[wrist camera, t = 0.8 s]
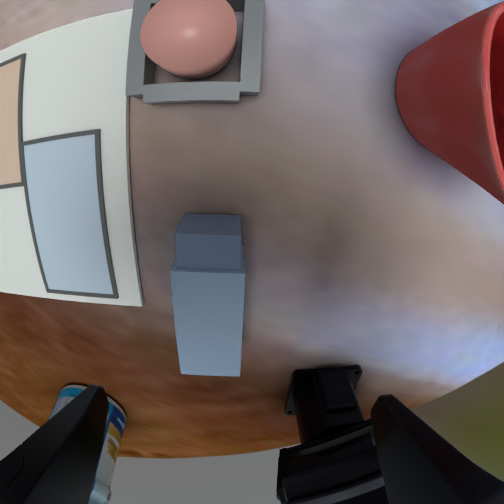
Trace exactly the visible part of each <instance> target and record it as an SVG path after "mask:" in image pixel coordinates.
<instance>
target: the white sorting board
mask: <svg viewBox="0 0 504 504" xmlns="http://www.w3.org/2000/svg"><path fill="white" fill-rule="evenodd" d="M132 12H133V9H128V10H122V11H117V12H113V13H108V14H104V15H99V16H95V17H91V18H87V19H84V20H80V21H77V22H73V23H70V24H67V25H64V26H61V27H58V28H55V29H52V30H49V31H46V32H43V33H41V34H38V35H36V36H33V37H30V38H28V39H26V40H23V41H21V42H19V43H16V44H14V45H12V46H10V47H8V48H5V49H3V50H1V51H0V292H6V293H13V294H20V295H27V296H35V297H43V298H51V299H60V300H69V301H79V302H90V303H101V304H113V305H126V306H140V307H142V306H143V303H144V301H143V295H142V289H141V282H140V275H139V268H138V261H137V253H136V244H135V235H134V225H133V214H132V201H131V185H130V164H129V96H125V91H126V72H127V57H128V46H129V36H130V27H131V19H132Z"/></svg>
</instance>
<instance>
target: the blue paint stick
mask: <svg viewBox="0 0 504 504" xmlns="http://www.w3.org/2000/svg"><path fill="white" fill-rule="evenodd" d="M241 237H242V234H241V215H229V214H197V213H185V214H184V216H183V218H182V220H181V222H180V224H179V226H178V228H177V230H176V232H175V255H176V257H175V259H174V262H173V264H172V267H171V269H170V280H171V292H172V303H173V313H174V322H175V331H176V339H177V347H178V355H179V362H180V369H181V374H192V375H210V376H240V366H241V348H242V330H243V312H244V294H245V277H246V271H245V255H244V244H241Z"/></svg>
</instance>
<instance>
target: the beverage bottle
mask: <svg viewBox="0 0 504 504" xmlns="http://www.w3.org/2000/svg"><path fill="white" fill-rule="evenodd" d="M85 388H86V386H82V385H68V386H66V387H64V388H63V389H62V390H61V392H60V394H59V396H58V399H57V402H56V404H55V406H54V408H53V411H52V413H51V415H50V417H49V419H50V418H52V417H53V416H54V415H55V414H56V413H57V412H59V411H60V410H61V409H62V408H63V407H64V406H66V405H67V404H68V403H69V402H70V401H71V400H72V399H74V398H75V397H76V396H77V395H78V394H79V393H81V392H82V391H83V390H84V389H85ZM107 398H108V401H109V410H108V415H107V421H106V428H105V434H104V441H103V446H102V450H101V454H100V458H99V462H98V466H97V470H96V473H95V478H94V482H93V486H92V490H91V495H90V499H89V504H108V503H109V501H110V498H111V490H110V488H111V483H112V478H113V473H114V468H115V463H116V459H117V454H118V450H119V446H120V442H121V438H122V435H123V431H124V429H125V425H126V416H125V413H124V412H123V410H122V409H121V407H120V406H119V405H118V404H117V403H116V402H115V401H113V400H112V399H111V398H109V397H108V396H107Z"/></svg>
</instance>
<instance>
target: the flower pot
mask: <svg viewBox="0 0 504 504" xmlns="http://www.w3.org/2000/svg"><path fill="white" fill-rule="evenodd" d="M396 99H397V104H398V108H399V111H400V114H401V117H402V119H403V121H404V123H405V125H406V127H407V128H408V130H409V131H410V133H411V134H412V136H413V137H414V138H415V139H416V140H417V141H418V142H419V143H420V144H421V145H423V146H424V147H425V148H427V149H428V150H430V151H431V152H433V153H434V154H436V155H437V156H439V157H440V158H441V159H443V160H444V161H446V162H447V163H449V164H450V165H451V166H453V167H454V168H455V169H457V170H458V171H460V172H461V173H463V174H464V175H465V176H467V177H468V178H470V179H471V180H472V181H474V182H475V183H477V184H478V185H479V186H481V187H482V188H483V189H485V190H486V191H487V192H489V193H490V194H491V195H492V196H494V197H495V198H496V199H497V200H499V201H500V202H501V203H503V204H504V2H501V3H498V4H495V5H493V6H491V7H488V8H486V9H484V10H482V11H480V12H478V13H476V14H474V15H472V16H470V17H468V18H466V19H464V20H462V21H460V22H458V23H456V24H455V25H453V26H451V27H449V28H447V29H445V30H444V31H442V32H440V33H439V34H437V35H435V36H433V37H432V38H430V39H429V40H427V41H426V42H424V43H423V44H421V45H420V46H419V47H417V48H416V49H414V50H413V51H412V52H410V53H409V54H408V55H407V56H406V57H405V59H404V60H403V62H402V63H401V66H400V68H399V71H398V74H397V78H396Z"/></svg>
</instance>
